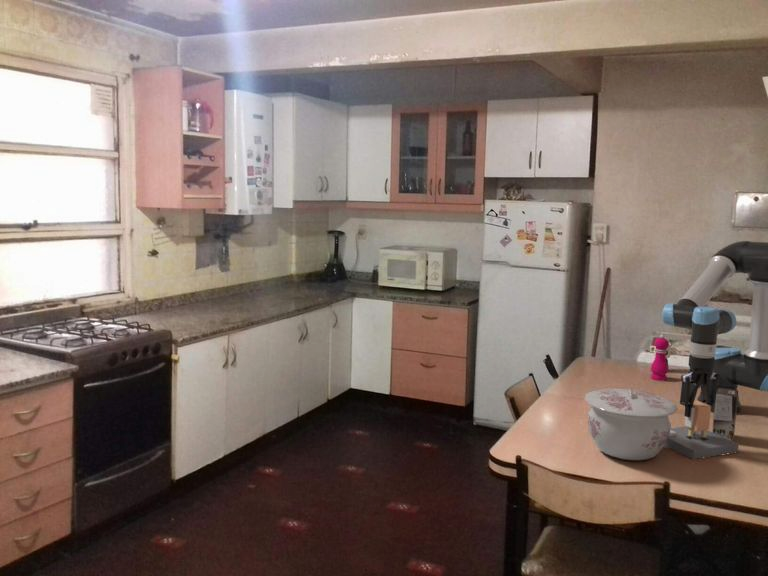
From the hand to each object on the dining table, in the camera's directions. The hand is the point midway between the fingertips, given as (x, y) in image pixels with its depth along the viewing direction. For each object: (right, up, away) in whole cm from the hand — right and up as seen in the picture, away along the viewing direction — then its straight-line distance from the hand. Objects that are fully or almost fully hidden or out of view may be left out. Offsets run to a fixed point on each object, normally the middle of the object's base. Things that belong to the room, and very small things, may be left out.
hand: (695, 425), depth 220 cm
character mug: (+27, +6, +94) cm, 98 cm away
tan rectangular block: (0, -3, 0) cm, 3 cm away
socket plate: (0, -7, +1) cm, 7 cm away
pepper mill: (+20, +4, +80) cm, 82 cm away
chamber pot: (-24, -8, -5) cm, 26 cm away
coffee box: (+13, -6, +9) cm, 17 cm away
